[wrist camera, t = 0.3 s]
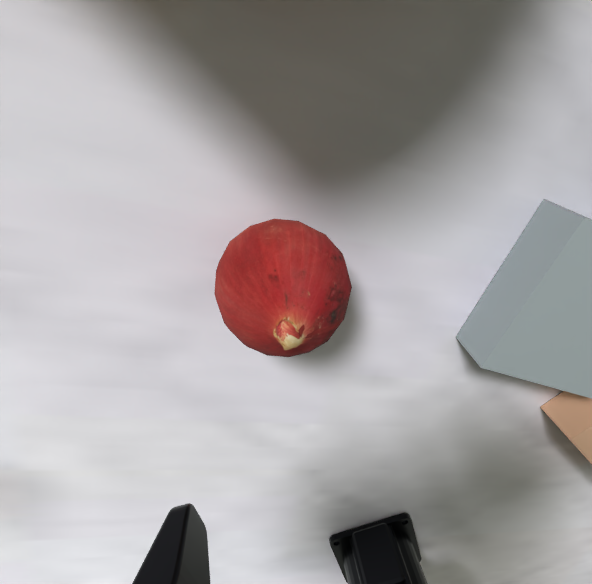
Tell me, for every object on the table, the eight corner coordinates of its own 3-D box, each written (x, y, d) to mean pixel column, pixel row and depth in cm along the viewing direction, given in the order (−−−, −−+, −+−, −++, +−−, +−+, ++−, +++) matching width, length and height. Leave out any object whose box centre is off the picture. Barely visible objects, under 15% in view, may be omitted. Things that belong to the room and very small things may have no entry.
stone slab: (566, 369, 29) (600, 401, 26) (455, 337, 26) (480, 367, 24) (661, 250, 25) (711, 272, 22) (544, 199, 23) (585, 216, 20)
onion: (341, 205, 21) (394, 275, 14) (321, 307, 24) (358, 408, 17) (221, 192, 20) (216, 261, 13) (214, 300, 23) (206, 405, 16)
